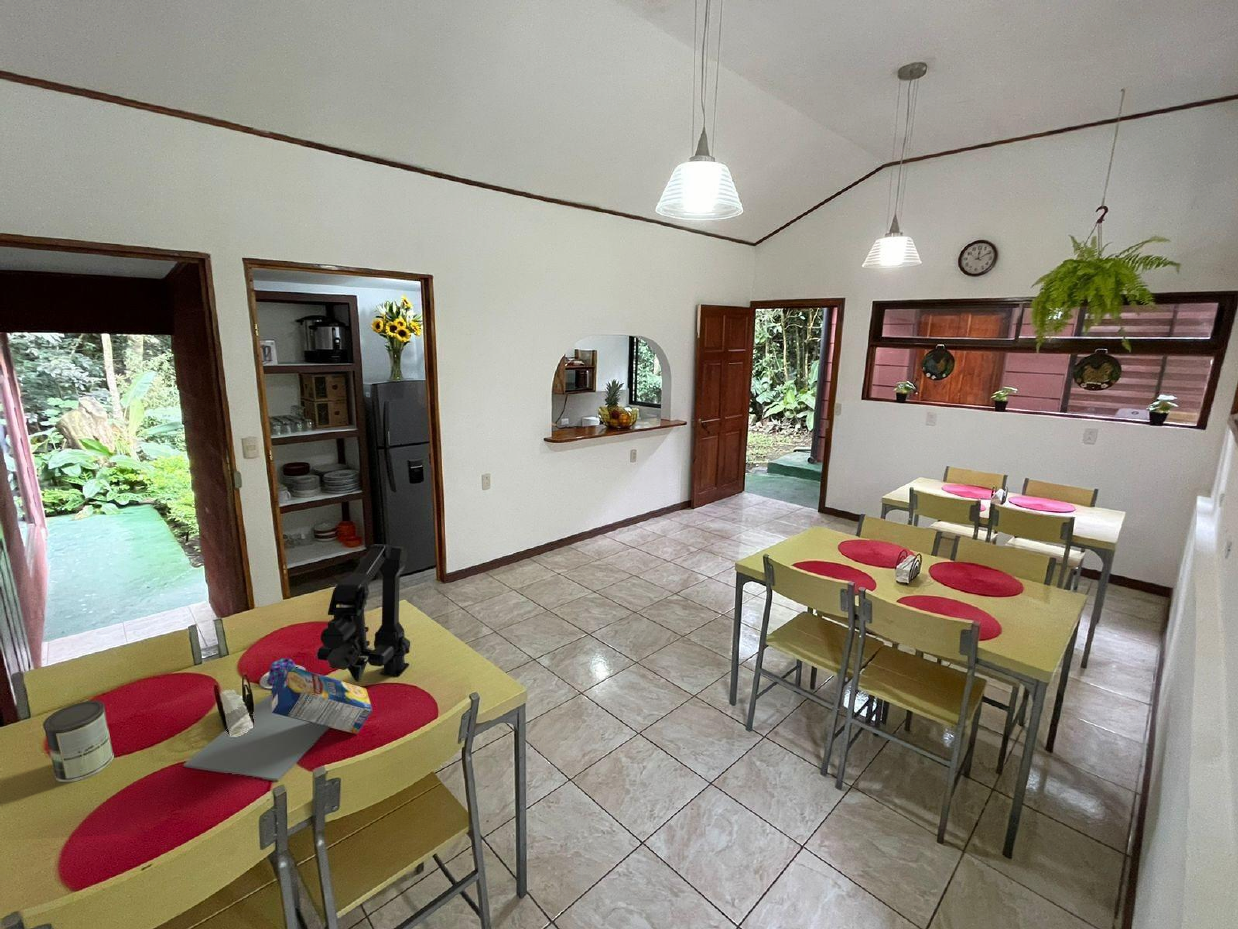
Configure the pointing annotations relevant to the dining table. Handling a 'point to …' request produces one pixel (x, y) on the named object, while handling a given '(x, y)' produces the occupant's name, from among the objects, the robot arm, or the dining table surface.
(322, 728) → the mat
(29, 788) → the dining table surface
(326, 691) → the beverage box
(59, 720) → the coffee can
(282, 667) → the pudding
